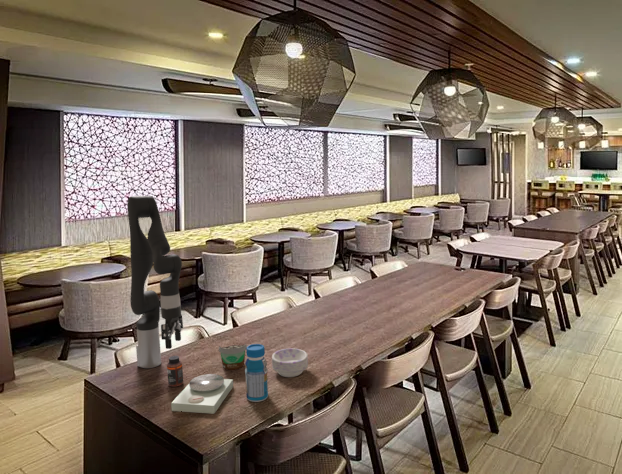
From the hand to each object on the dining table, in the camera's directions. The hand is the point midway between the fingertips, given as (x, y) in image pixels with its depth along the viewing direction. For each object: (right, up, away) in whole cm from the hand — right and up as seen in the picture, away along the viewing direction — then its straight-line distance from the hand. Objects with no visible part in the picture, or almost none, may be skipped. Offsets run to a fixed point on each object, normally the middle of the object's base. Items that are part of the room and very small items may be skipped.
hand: (173, 344), depth 188 cm
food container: (+22, -14, +16) cm, 31 cm away
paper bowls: (+46, -15, +11) cm, 50 cm away
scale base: (+14, -18, -10) cm, 25 cm away
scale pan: (+15, -14, -7) cm, 22 cm away
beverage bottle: (+35, -18, -10) cm, 40 cm away
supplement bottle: (0, -17, +2) cm, 17 cm away
